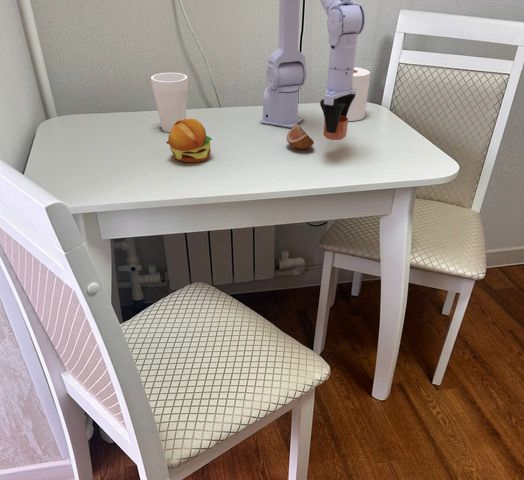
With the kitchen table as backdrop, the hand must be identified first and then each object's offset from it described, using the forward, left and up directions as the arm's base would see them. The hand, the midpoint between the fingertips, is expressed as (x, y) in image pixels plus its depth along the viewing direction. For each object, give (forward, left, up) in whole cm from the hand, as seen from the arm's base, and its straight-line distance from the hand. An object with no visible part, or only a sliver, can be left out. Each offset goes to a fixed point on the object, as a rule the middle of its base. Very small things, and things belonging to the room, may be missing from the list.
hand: (335, 128), depth 133 cm
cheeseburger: (-31, -17, -7) cm, 36 cm away
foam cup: (-46, -1, -7) cm, 46 cm away
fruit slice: (-9, +1, -7) cm, 11 cm away
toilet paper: (-7, +32, -7) cm, 33 cm away
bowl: (0, 0, -2) cm, 2 cm away
